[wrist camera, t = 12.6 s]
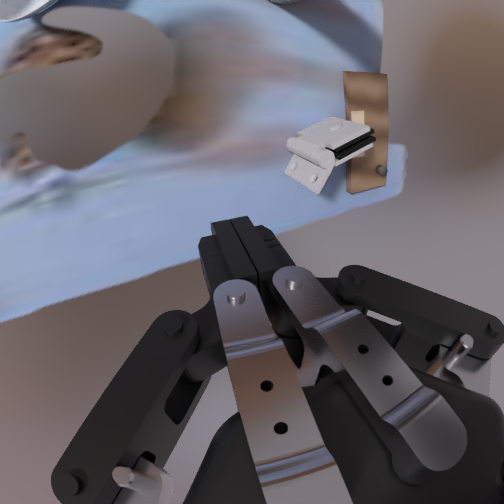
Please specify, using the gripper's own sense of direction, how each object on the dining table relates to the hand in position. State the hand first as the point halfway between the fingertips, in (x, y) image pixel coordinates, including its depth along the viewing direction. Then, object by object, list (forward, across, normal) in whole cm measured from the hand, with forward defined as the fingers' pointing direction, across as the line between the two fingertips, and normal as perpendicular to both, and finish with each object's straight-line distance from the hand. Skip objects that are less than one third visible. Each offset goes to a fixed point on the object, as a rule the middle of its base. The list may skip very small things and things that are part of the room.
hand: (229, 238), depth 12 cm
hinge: (+32, -22, +6) cm, 40 cm away
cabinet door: (+33, -35, +4) cm, 48 cm away
